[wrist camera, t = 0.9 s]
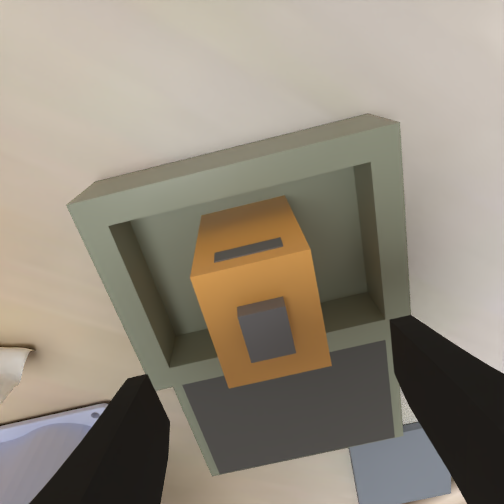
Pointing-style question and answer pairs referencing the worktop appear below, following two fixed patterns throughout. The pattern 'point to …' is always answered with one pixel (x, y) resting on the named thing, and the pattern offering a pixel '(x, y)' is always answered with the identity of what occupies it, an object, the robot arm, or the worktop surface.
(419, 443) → the mat
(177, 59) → the worktop surface
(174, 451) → the worktop surface
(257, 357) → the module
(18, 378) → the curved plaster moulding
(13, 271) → the worktop surface
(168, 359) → the grey-green tray
